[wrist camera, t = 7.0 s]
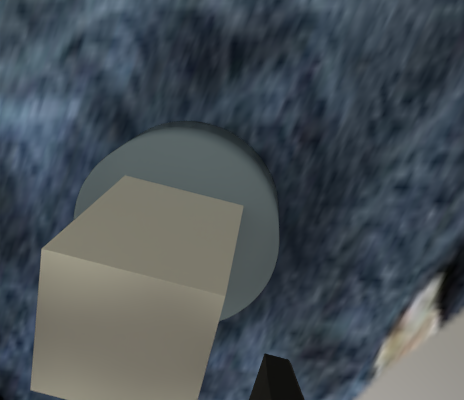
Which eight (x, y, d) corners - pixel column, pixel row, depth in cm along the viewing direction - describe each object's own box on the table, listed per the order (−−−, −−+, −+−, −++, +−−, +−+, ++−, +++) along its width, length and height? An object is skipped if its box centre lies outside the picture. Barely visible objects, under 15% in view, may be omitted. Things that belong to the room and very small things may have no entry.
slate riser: (168, 306, 22) (149, 353, 18) (72, 175, 20) (32, 201, 16) (309, 238, 20) (316, 277, 16) (219, 84, 18) (206, 93, 14)
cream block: (217, 305, 17) (188, 431, 12) (109, 277, 17) (30, 390, 12) (243, 205, 16) (225, 296, 10) (125, 175, 16) (41, 248, 10)
